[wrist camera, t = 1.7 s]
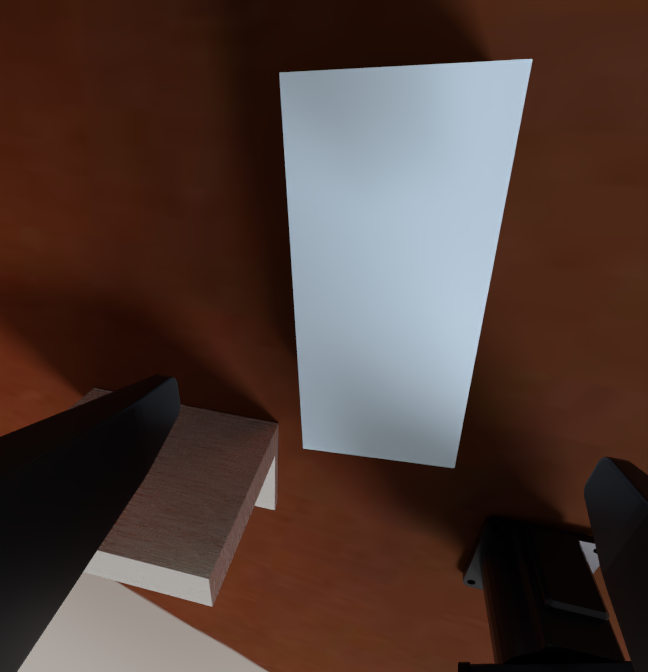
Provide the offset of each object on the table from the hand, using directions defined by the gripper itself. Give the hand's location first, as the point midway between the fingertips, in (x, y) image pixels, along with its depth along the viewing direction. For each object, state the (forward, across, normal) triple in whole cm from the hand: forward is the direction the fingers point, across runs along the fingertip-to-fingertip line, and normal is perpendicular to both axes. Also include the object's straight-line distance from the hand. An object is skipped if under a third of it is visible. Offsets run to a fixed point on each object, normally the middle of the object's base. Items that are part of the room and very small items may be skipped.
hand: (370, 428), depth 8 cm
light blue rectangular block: (+10, 0, 0) cm, 11 cm away
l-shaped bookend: (+10, +11, +13) cm, 20 cm away
